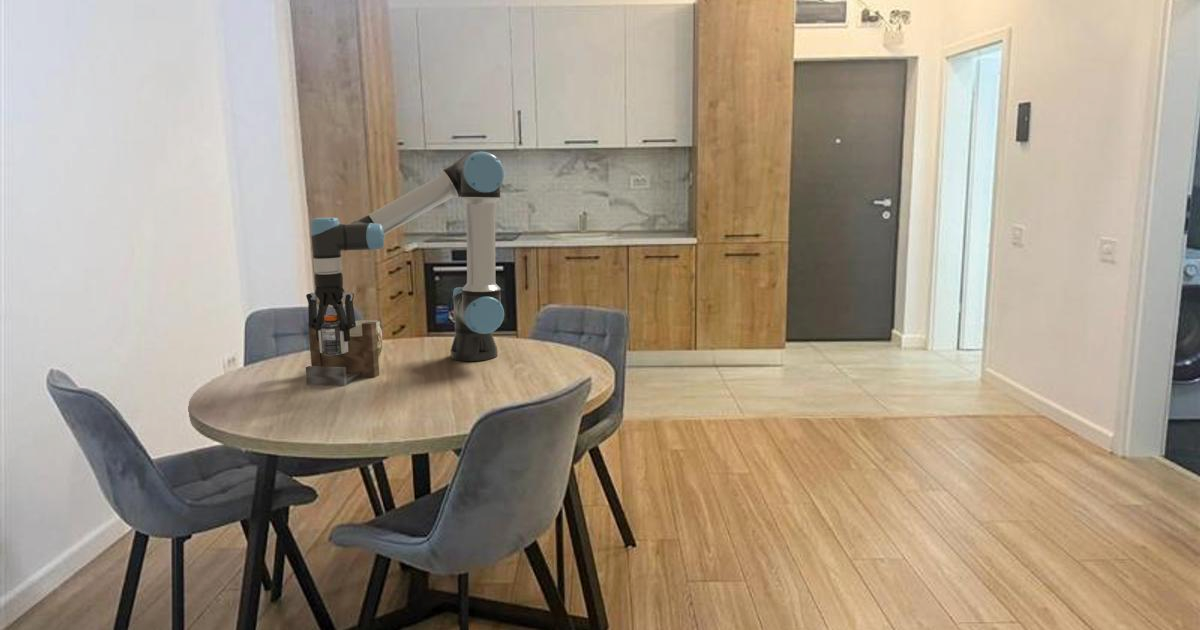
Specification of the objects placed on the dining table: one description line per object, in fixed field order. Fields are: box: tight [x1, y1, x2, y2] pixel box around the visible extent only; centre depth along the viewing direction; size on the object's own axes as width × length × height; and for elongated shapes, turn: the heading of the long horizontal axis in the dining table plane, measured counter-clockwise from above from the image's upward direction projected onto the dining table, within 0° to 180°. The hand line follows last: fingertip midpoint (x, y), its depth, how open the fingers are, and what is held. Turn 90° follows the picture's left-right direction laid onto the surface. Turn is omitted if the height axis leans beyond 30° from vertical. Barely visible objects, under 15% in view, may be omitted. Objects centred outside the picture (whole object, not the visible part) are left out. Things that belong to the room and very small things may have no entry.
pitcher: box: [350, 319, 383, 360], centre depth 246 cm, size 11×18×14 cm, turn 164°
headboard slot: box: [305, 321, 380, 387], centre depth 226 cm, size 20×13×16 cm, turn 80°
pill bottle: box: [321, 313, 342, 355], centre depth 224 cm, size 6×6×11 cm
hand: (334, 352), depth 225 cm, fingers closed on pill bottle, 6 cm apart
